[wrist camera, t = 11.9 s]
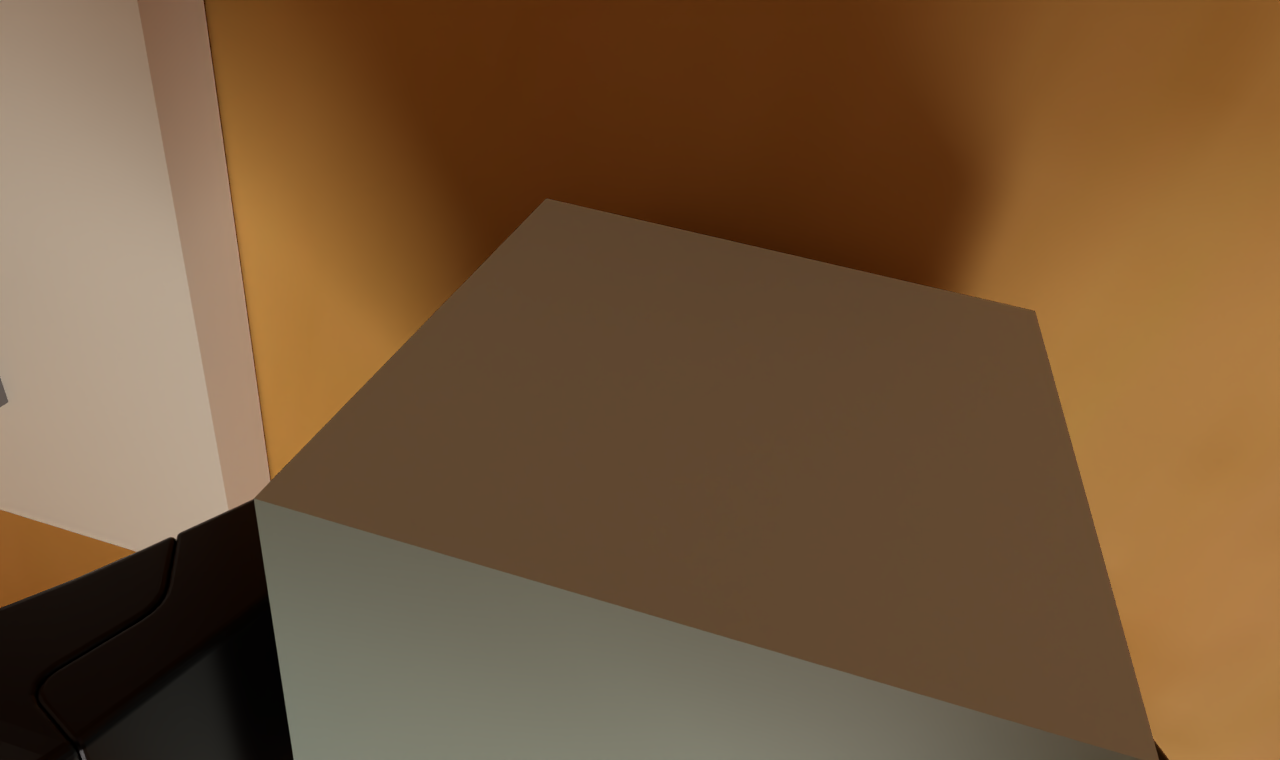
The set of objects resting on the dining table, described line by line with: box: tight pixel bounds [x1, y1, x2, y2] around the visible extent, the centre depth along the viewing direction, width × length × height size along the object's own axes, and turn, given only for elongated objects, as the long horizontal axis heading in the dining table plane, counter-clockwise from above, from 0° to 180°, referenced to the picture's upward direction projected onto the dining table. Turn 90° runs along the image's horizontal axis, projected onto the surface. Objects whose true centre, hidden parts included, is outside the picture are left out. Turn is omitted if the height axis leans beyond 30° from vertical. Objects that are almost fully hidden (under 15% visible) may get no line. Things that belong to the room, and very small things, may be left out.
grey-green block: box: [254, 198, 1159, 760], centre depth 8 cm, size 5×5×5 cm
